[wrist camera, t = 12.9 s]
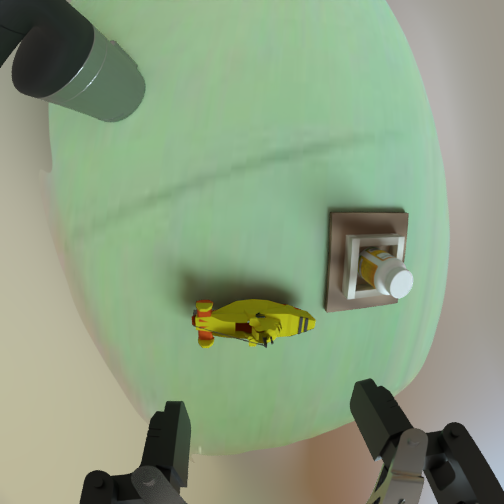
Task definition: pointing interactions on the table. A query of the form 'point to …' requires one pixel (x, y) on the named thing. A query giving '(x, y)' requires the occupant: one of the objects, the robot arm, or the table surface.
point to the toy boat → (259, 329)
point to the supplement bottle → (384, 272)
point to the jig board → (347, 254)
